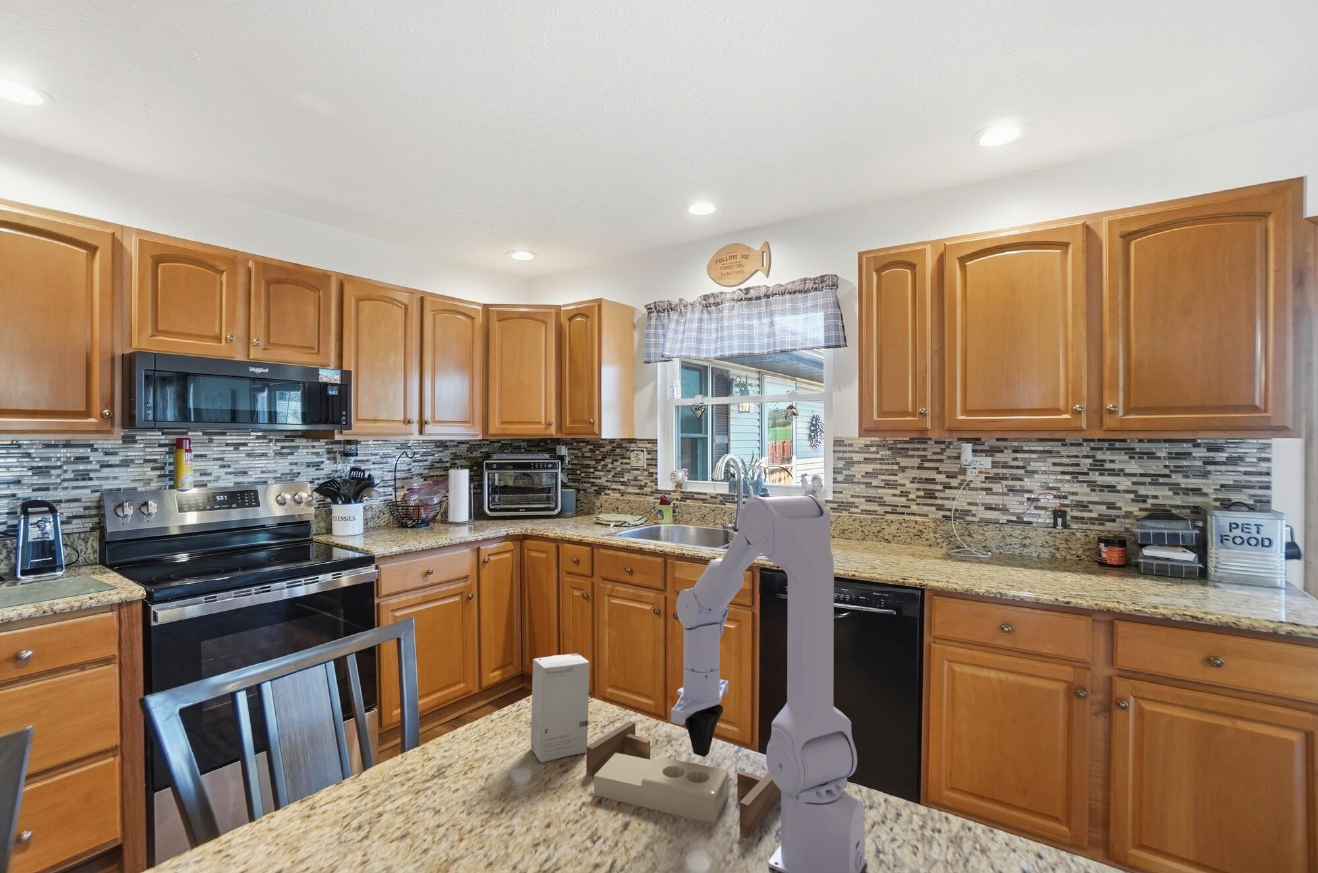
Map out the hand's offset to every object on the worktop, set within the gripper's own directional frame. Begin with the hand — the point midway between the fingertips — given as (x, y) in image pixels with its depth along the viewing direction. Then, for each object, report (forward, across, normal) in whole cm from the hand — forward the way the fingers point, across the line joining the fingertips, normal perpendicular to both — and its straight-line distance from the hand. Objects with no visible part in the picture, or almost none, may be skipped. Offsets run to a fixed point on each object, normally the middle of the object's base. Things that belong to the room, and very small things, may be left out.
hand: (701, 753), depth 96 cm
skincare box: (+2, +8, -22) cm, 24 cm away
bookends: (+2, +6, 0) cm, 6 cm away
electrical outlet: (+3, +10, -1) cm, 10 cm away
